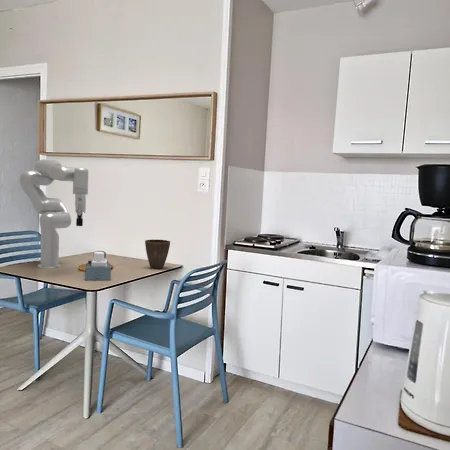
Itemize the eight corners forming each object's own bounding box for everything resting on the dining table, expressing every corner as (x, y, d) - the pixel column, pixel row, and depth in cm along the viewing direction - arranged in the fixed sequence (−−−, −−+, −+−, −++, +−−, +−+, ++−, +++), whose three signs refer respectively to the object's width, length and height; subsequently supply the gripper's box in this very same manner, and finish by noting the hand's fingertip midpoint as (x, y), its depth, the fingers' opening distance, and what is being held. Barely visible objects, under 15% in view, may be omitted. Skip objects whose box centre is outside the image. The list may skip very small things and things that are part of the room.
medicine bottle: (92, 272, 223) (93, 250, 222) (106, 273, 224) (107, 250, 223) (90, 275, 216) (91, 252, 215) (105, 276, 217) (106, 252, 216)
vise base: (86, 270, 235) (86, 258, 235) (108, 270, 239) (108, 258, 238) (85, 280, 211) (85, 267, 211) (110, 280, 215) (110, 267, 214)
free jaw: (85, 271, 225) (86, 260, 224) (109, 270, 228) (109, 260, 228) (85, 272, 221) (86, 261, 221) (109, 272, 225) (110, 261, 224)
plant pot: (157, 271, 244) (158, 243, 242) (138, 267, 252) (139, 240, 250) (174, 267, 256) (175, 241, 255) (155, 264, 264) (156, 238, 263)
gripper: (87, 192, 219) (86, 227, 221) (87, 191, 234) (86, 224, 235) (72, 191, 217) (71, 227, 219) (73, 190, 231) (72, 224, 233)
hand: (79, 225), depth 227 cm, fingers closed
